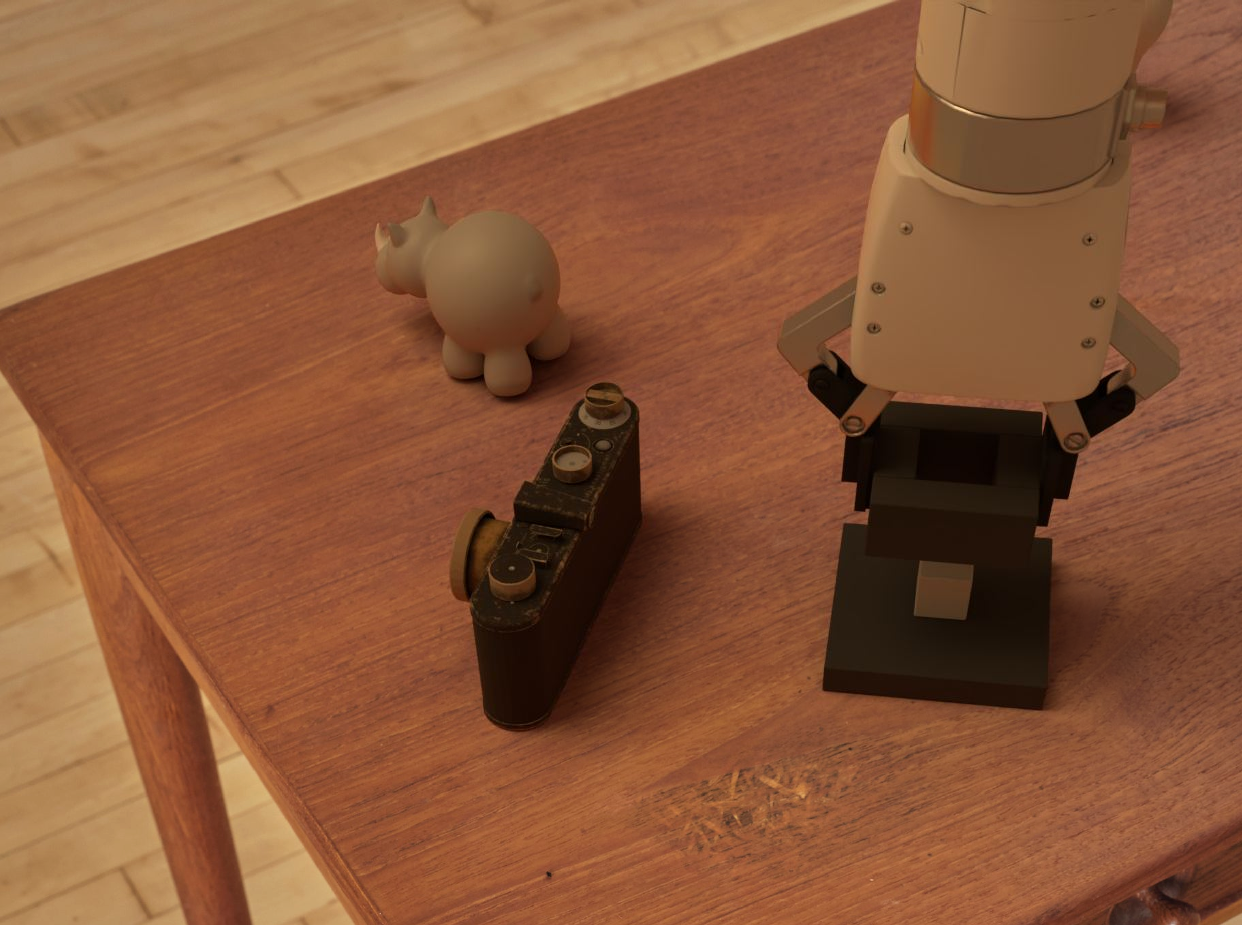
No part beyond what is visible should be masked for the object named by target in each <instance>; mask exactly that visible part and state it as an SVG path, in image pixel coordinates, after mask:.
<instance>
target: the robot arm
mask: <svg viewBox="0 0 1242 925" xmlns="http://www.w3.org/2000/svg"><path fill="white" fill-rule="evenodd" d="M1145 3H1146V0H921V4H920V14H919V16H920V17H919V23H918V30H917V39H916V48H915V60H914V66H913V67H914V69H913V78H912V85H911V93H910V103H909V112H908V113H905V114H904V115H902V116H901V117H898V118H897V119H895V121H893V123H892V124H891V125H890V127H889V128H888V131H887V134H886V137H885V140H884V142H883V146H882V149H881V151H880V155H879V158H878V162H877V166H876V170H875V173H874V177H873V181H872V185H871V189H870V195H869V199H868V204H867V209H866V214H865V220H864V221H865V222H864V229H863V236H862V241H861V247H860V254H859V259H858V260H859V261H858V266H857V273H856V275H854V276H853V277H851V278H850V279H848V280H847V281H845V282H843V283H842V284H840V285H838V286H837V287H836V288H834V289H832V290H831V291H829V292H827V293H825V294H823V295H822V296H821V297H819V298H817V299H816V300H814V301H813V302H811V303H810V304H808V305H807V306H805V307H803V308H802V309H800V310H799V311H796V312H795V313H794V314H792V315H790V316H789V317H787V318H785V319H784V320H783V321H782V322H781V323H780V326H779V330H778V335H777V341H776V350H777V351H778V353H779V354H780V355H781V356H782V357H783V358H784V360H785V361H786V362H787V363H788V364H789V366H791V368H792V369H793V370H794V372H796V374H797V375H798V376H799V377H802V378H803V379H804V380H805V382H806V383H807V384H806V385H807V389H808V391H809V392H810V393H811V394H812V396H814V397H815V398H816V399H817V400H818V401H819V402H820V403H821V404H822V405H823V406H824V407H825V408H826V409H827V410H828V411H829V412H830V413H831V414H832V415H834V416H835V418H837V420H838V421H839V429H840V431H841V433H843V434H844V435H845V437H844V438H845V440H844V449H843V460H842V467H841V468H842V470H841V479H840V482H842V483H854V484H856V487H855V488H856V489H855V495H854V496H855V497H854V508H853V512H859V513H860V512H861V513H866V510H869V507H870V498H871V490H872V482H873V474H874V472H875V465H876V457H877V449H878V441H879V433H880V425H881V416H882V411H883V409H884V408H885V407H886V406H887V404H888V403H889V402H890V401H892V399H893V398H895V395H896V394H898V393H906V394H919V395H928V396H929V395H930V396H943V397H956V398H967V399H968V398H970V399H986V400H1001V401H1013V402H1014V401H1015V402H1016V401H1017V402H1028V403H1029V402H1031V403H1042V405H1043V408H1044V409H1045V412H1046V415H1045V419H1044V425H1043V428H1042V439H1041V457H1040V481H1039V485H1040V496H1039V518H1038V522H1037V527H1043V528H1048V527H1049V523H1050V519H1051V513H1052V509H1053V504H1054V500H1066V501H1069V497H1070V494H1071V489H1072V485H1073V480H1074V476H1075V472H1076V469H1077V468H1076V467H1077V464H1078V463H1077V462H1078V460H1079V459H1078V458H1079V454H1081V453H1083V452H1085V451H1087V449H1088V448H1089V447H1090V445H1091V441H1092V440H1091V439H1093V438H1094V437H1096V436H1098V435H1099V434H1101V433H1102V432H1104V431H1107V430H1108V429H1109V428H1111V427H1113V426H1114V425H1116V424H1117V423H1120V422H1121V421H1122V420H1124V419H1125V418H1127V417H1129V416H1130V415H1132V414H1133V413H1134V411H1135V410H1136V406H1137V405H1138V404H1140V403H1141V402H1142V401H1147V400H1148V399H1150V398H1151V397H1152V396H1154V395H1155V394H1157V393H1158V392H1159V391H1161V390H1163V389H1164V388H1165V387H1166V386H1168V385H1169V384H1171V383H1172V382H1173V381H1175V380H1176V379H1177V378H1178V377H1179V375H1180V373H1181V364H1180V363H1181V362H1180V361H1181V360H1180V359H1181V358H1180V348H1179V347H1178V346H1177V345H1176V344H1175V343H1174V342H1173V341H1172V340H1171V339H1170V338H1168V337H1167V336H1166V335H1165V334H1164V333H1163V332H1162V331H1161V330H1160V329H1159V328H1158V327H1157V326H1155V325H1154V324H1153V323H1152V322H1151V321H1150V320H1149V319H1148V318H1146V316H1145V315H1143V313H1141V311H1139V310H1138V309H1137V308H1136V307H1135V306H1134V305H1133V304H1132V303H1130V302H1129V301H1128V300H1127V298H1125V297H1124V296H1123V295H1122V294H1121V293H1120V287H1121V280H1122V273H1123V267H1124V266H1123V265H1124V260H1125V259H1124V258H1125V253H1126V242H1127V235H1128V234H1127V233H1128V225H1129V224H1128V223H1129V211H1130V202H1131V195H1132V190H1133V189H1132V188H1133V186H1132V184H1133V144H1132V140H1131V138H1130V136H1129V134H1128V133H1129V132H1139V131H1140V129H1141V128H1150V129H1161V128H1162V126H1163V122H1164V118H1165V115H1166V108H1167V103H1168V92H1169V89H1168V87H1148V83H1147V82H1137V72H1135V73H1131V68H1132V64H1133V59H1134V54H1135V50H1136V45H1137V40H1138V36H1139V31H1140V26H1141V21H1142V17H1143V12H1144V7H1145ZM849 328H850V341H849V361H850V362H849V364H848V363H847V362H845V361H844V359H843V358H841V357H840V355H838V354H837V353H836V352H835V351H833V350H831V349H829V348H827V344H826V342H828V341H829V340H831V339H832V338H834V337H835V336H837V335H840V334H841V333H843V332H844V331H846V330H847V329H849ZM1110 346H1111V347H1112V348H1113V349H1114V350H1116V351H1117V352H1118V353H1119V354H1120V355H1121V356H1122V357H1123V358H1125V360H1127V361H1128V363H1126V364H1125V367H1124V368H1123V369H1117V370H1113V371H1112V372H1110V373H1109V374H1107V375H1106V376H1104V377H1103V372H1104V371H1105V370H1104V369H1105V366H1106V361H1107V357H1108V353H1109V349H1110V348H1109V347H1110Z"/></svg>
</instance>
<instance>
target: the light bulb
mask: <svg viewBox="0 0 1242 925" xmlns="http://www.w3.org/2000/svg"><path fill="white" fill-rule="evenodd" d="M1173 4H1174V0H1146V3H1145V7H1144V12H1143V17H1142V21H1141V26H1140V31H1139V36H1138V40H1137V45H1136V50H1135V54H1134V59H1133V64H1132V68H1131V73H1137V70H1138V67H1139V65H1140V63H1141V60H1142V59H1143V57H1144V56H1145V54H1146V53H1147V52H1148V51H1149V50H1150V48H1151V47H1153V46H1154V45H1155V43H1156V42H1157V41H1158V40H1159V38H1160V37H1161V35H1162V34H1163V33H1164V31H1165V29H1166V27H1167V25H1168V23H1169V20H1170V18H1171V15H1172V10H1173Z"/></svg>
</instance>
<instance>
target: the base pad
mask: <svg viewBox="0 0 1242 925" xmlns="http://www.w3.org/2000/svg"><path fill="white" fill-rule="evenodd" d="M867 524H868V523H867ZM867 524H865V523H852V522H844V523H843V525H842V531H841V539H840V546H839V554H838V559H837V560H838V561H837V569H836V577H835V584H834V589H833V598H832V604H831V613H830V620H829V627H828V628H829V629H828V635H827V643H826V651H825V658H824V663H823V664H824V665H823V675H822V677H823V678H822V688H821V689H822V690H823V691H826V692H827V691H828V692H840V693H849V694H850V693H851V694H862V695H871V696H872V695H873V696H884V697H894V698H895V697H896V698H904V699H905V698H907V699H917V700H928V701H939V702H950V703H960V704H970V705H971V704H972V705H982V706H983V705H984V706H995V707H1005V708H1006V707H1007V708H1017V709H1029V710H1039V711H1041V710H1043V709H1044V705H1045V701H1046V700H1045V699H1046V696H1047V691H1048V684H1049V683H1048V682H1049V656H1050V655H1049V654H1050V653H1049V652H1050V627H1051V626H1050V624H1051V623H1050V622H1051V595H1052V569H1053V568H1052V567H1053V543H1054V542H1053V538H1052V537H1040V536H1039V537H1038V536H1034V541H1033V546H1032V550H1031V555H1030V560H1029V564H1028V568H1027V569H1026V570H1024V569H1012V568H1000V567H989V566H977V565H965V564H954V563H942V562H930V561H919V560H907V559H896V558H884V557H872V556H865V555H864V550H865V541H866V532H867Z"/></svg>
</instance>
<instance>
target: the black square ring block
mask: <svg viewBox="0 0 1242 925" xmlns="http://www.w3.org/2000/svg"><path fill="white" fill-rule="evenodd" d="M1043 421H1044V412H1043V411H1035V410H1025V409H1024V410H1022V409H1011V408H1010V409H1009V408H996V407H995V408H994V407H981V406H968V405H953V404H941V403H939V404H938V403H928V402H913V401H899V400H897V401H896V400H891V401H890V402H889V403H888V404H887V406H886V407H885V408H884V409H883V411H882V416H881V425H880V433H879V441H878V449H877V457H876V465H875V472H874V474H873V482H872V490H871V498H870V507H869V509H868V517H867V532H866V541H865V550H864V555H865V556H872V557H884V558H896V559H907V560H919V561H930V562H942V563H954V564H965V565H977V566H989V567H1000V568H1012V569H1024V570H1026V569H1027V568H1028V564H1029V560H1030V555H1031V550H1032V546H1033V541H1034V537H1036V530H1037V527H1038V526H1037V522H1038V518H1039V496H1040V485H1039V481H1040V457H1041V439H1042V434H1043V426H1044V425H1043Z"/></svg>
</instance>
